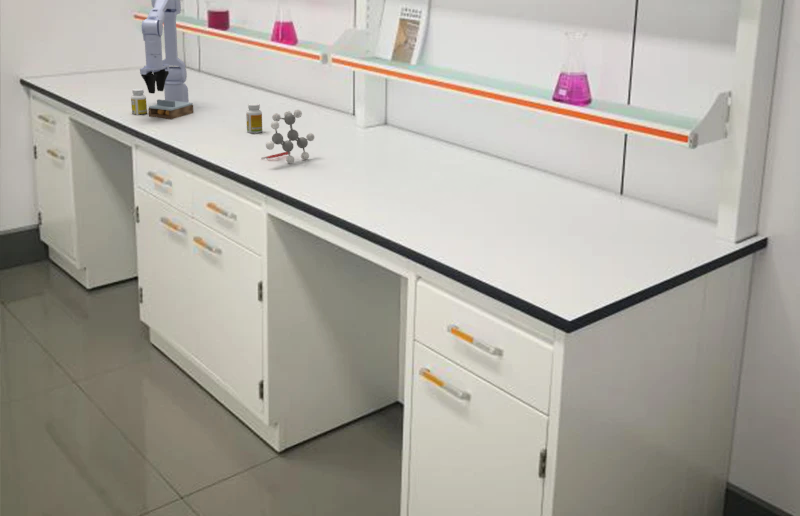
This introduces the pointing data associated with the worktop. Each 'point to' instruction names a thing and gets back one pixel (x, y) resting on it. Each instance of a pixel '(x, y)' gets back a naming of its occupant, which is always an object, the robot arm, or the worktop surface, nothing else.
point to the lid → (169, 105)
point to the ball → (161, 111)
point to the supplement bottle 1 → (138, 102)
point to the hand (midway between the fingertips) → (156, 92)
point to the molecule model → (291, 135)
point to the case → (172, 112)
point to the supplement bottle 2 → (254, 118)
